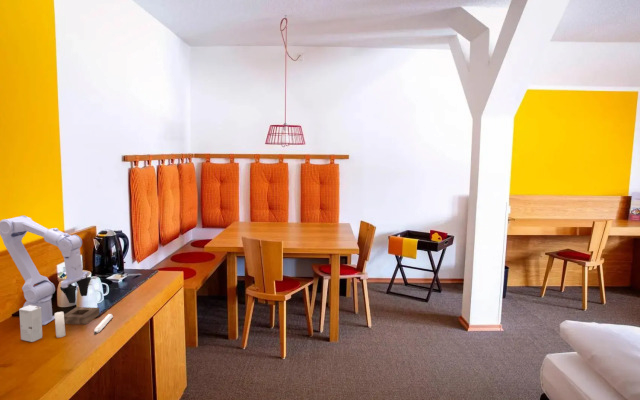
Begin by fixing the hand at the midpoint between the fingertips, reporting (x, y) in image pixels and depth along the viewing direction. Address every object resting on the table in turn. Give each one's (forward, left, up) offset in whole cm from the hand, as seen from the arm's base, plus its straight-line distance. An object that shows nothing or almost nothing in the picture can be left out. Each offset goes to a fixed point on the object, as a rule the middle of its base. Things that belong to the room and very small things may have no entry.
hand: (78, 299), depth 171 cm
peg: (-1, -10, -11) cm, 15 cm away
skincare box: (-10, -13, -11) cm, 20 cm away
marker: (+10, -1, -11) cm, 15 cm away
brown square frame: (-3, +5, -11) cm, 12 cm away
